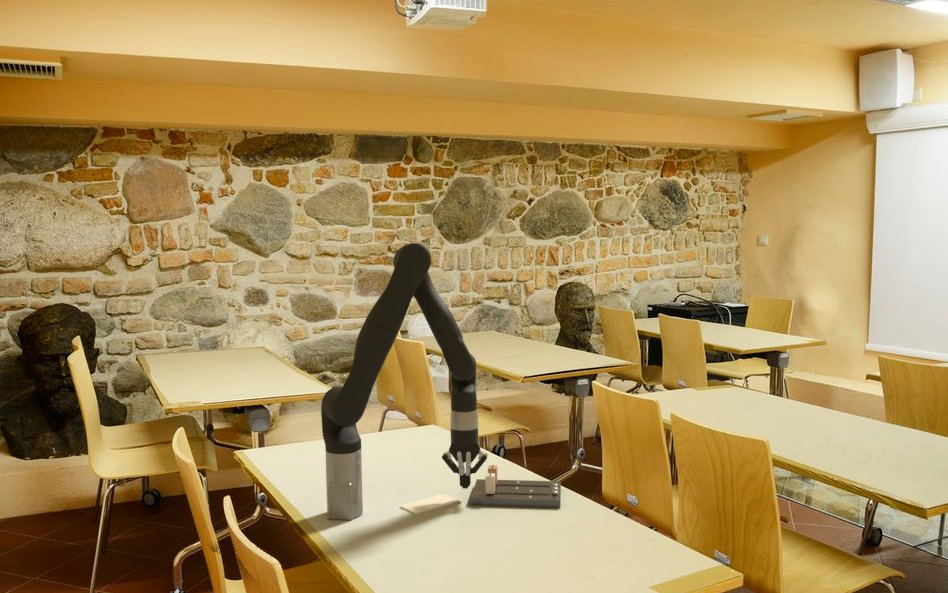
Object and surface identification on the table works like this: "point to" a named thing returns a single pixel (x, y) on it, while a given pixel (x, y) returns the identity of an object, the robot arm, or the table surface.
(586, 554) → the table surface
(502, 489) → the console
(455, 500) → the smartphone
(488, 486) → the fader
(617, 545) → the table surface
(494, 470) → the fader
